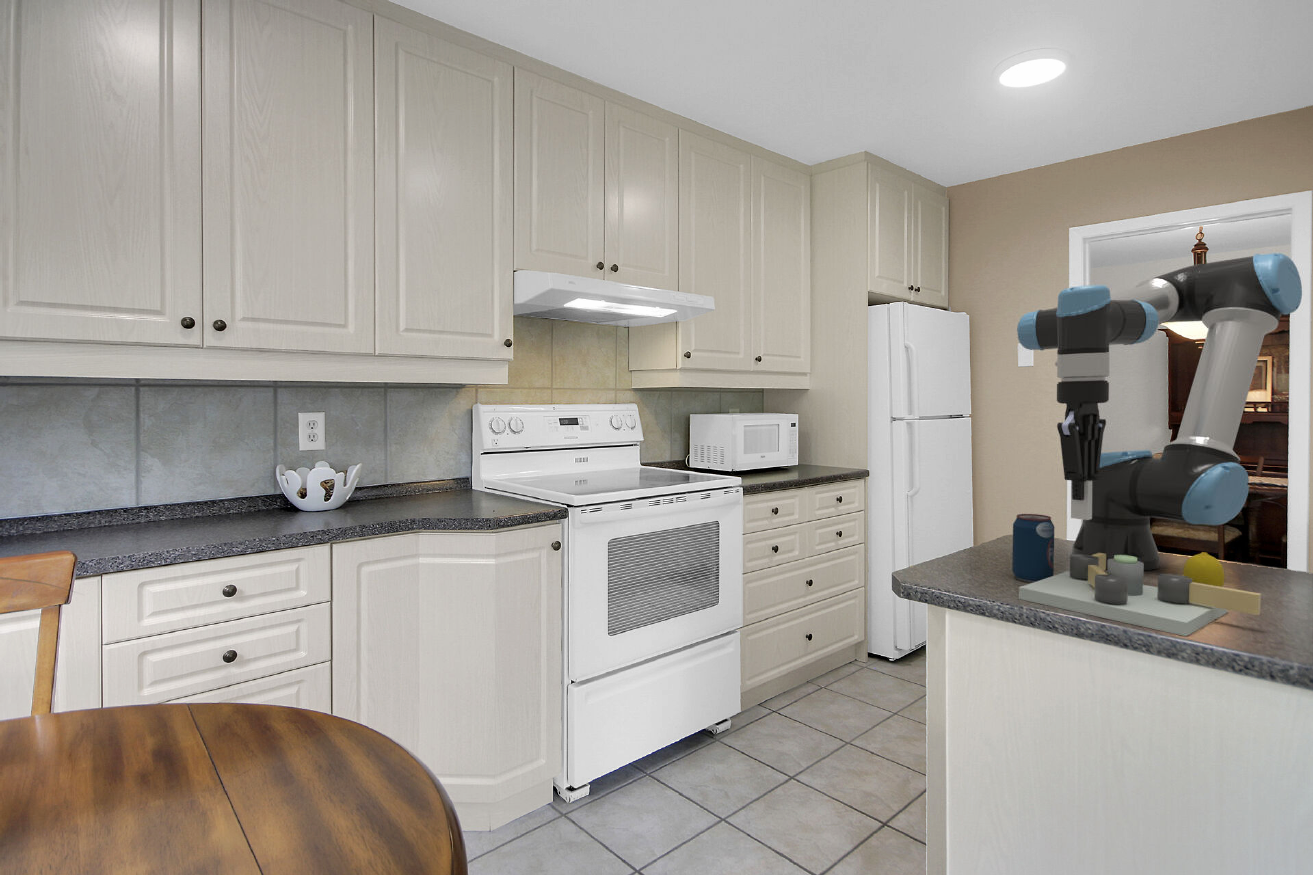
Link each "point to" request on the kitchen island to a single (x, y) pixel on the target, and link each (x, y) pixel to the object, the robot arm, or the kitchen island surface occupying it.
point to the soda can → (1033, 547)
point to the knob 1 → (1085, 564)
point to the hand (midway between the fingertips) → (1081, 518)
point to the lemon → (1204, 570)
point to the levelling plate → (1137, 610)
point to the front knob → (1108, 586)
